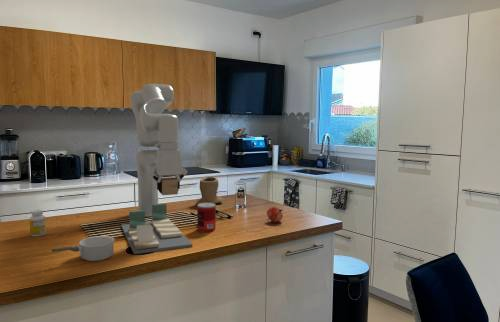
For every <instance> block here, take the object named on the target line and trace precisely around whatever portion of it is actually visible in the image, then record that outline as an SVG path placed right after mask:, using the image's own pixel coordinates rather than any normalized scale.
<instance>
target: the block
mask: <svg viewBox="0 0 500 322" xmlns="http://www.w3.org/2000/svg"><path fill="white" fill-rule="evenodd" d="M137 240H138V241H139V243H141V242H150V241H153V227H152V226H151V225H150V224H149V225H139V226H137Z"/></svg>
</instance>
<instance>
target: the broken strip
mask: <svg viewBox="0 0 500 322" xmlns="http://www.w3.org/2000/svg"><path fill="white" fill-rule="evenodd" d="M128 213H129V214H128V216H129V217H128V218H129V223H128V224H130V229H128V233H129V235H130V236H131V239H132V241H133V243H134V245H135V247H136V249H145V248H152V247H159V242H158V241H157V239H156V238H155V237H154V235H153V241H150V242H141V243H139V241H138V240H137V226H139V225H145V222H146V217H145V210H139V211H137V210H131V211H129V212H128ZM133 235H134V236H133Z"/></svg>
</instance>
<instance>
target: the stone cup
mask: <svg viewBox="0 0 500 322" xmlns="http://www.w3.org/2000/svg"><path fill="white" fill-rule="evenodd" d="M219 185H220V183H219V180H218V178H217V177H215V176H206V177H202V178H201V179H200V181H199V190H200V191H199V192H200V194H201V198H198V199H196V203H197V204H200V203H214V204H219V203H223V202H224V200H223V198H222V196H221V195H217V194H218V189H219Z"/></svg>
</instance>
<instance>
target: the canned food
mask: <svg viewBox="0 0 500 322" xmlns="http://www.w3.org/2000/svg"><path fill="white" fill-rule="evenodd" d="M216 206H217V205H216V203H200V204H199V203H197V207H196V208H197V212H196V213H197V222H196V224H197V230H198V231H199V232H201V233H210V232H214V231H215V230H216V222H217V221H216V218H217V217H216V214H217V213H216V212H217V211H216V209H217V207H216Z"/></svg>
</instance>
